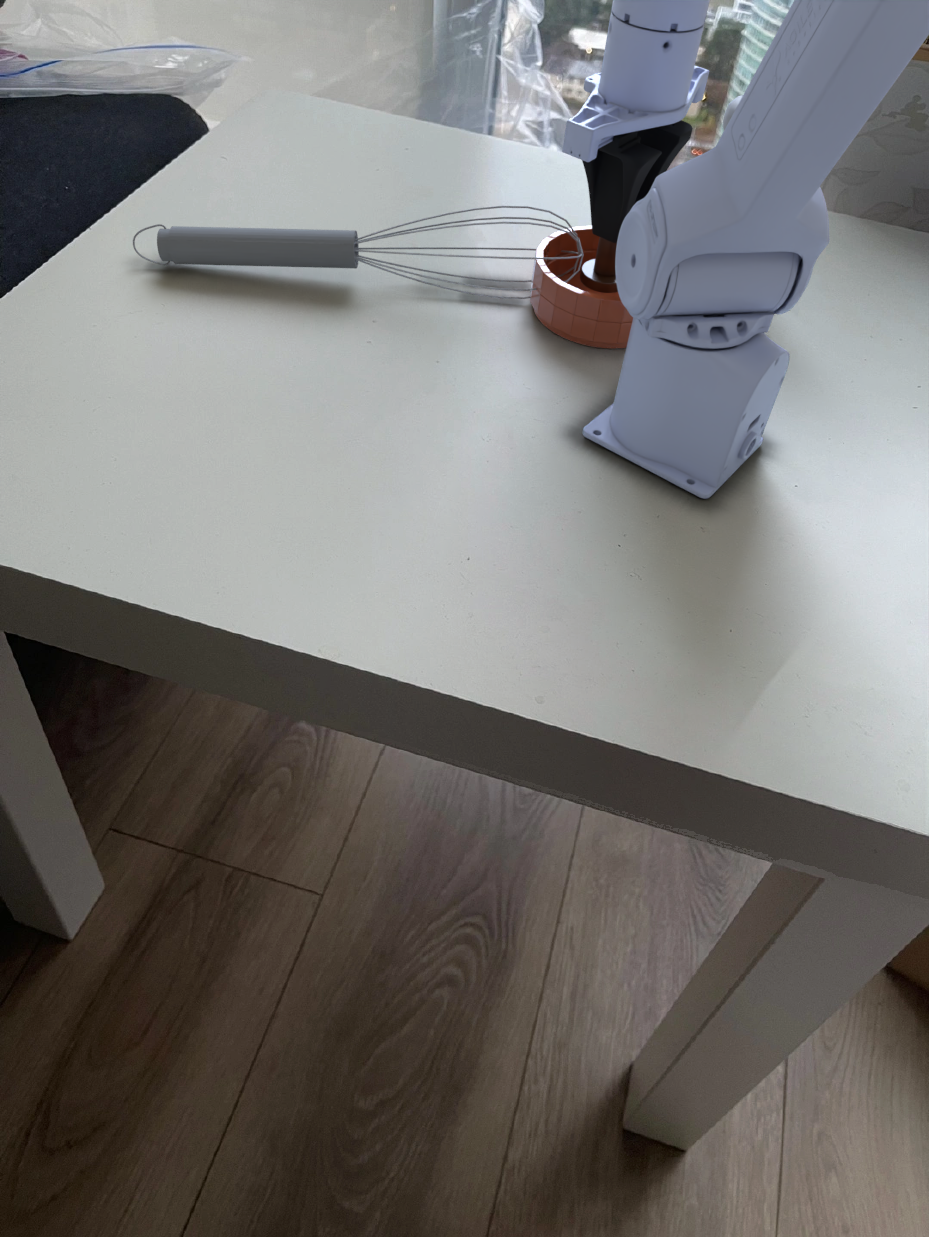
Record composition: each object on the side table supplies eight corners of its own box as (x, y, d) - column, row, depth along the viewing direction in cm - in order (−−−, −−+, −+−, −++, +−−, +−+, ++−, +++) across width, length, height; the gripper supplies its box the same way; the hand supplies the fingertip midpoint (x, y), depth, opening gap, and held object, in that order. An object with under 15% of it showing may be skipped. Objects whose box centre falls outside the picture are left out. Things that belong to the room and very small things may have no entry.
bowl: (695, 310, 74) (708, 262, 71) (621, 368, 68) (632, 319, 65) (580, 259, 78) (588, 211, 75) (501, 310, 72) (506, 260, 69)
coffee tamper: (636, 280, 71) (663, 161, 65) (610, 299, 69) (635, 178, 63) (596, 263, 73) (618, 144, 66) (570, 280, 71) (590, 160, 64)
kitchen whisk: (145, 239, 74) (130, 157, 70) (574, 278, 76) (587, 200, 71) (124, 280, 70) (107, 196, 66) (577, 320, 72) (592, 240, 67)
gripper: (661, -24, 63) (621, 180, 73) (535, 24, 55) (510, 246, 66) (756, 4, 61) (701, 212, 71) (638, 60, 53) (595, 284, 63)
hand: (615, 231), depth 68 cm, fingers closed on coffee tamper, 2 cm apart
